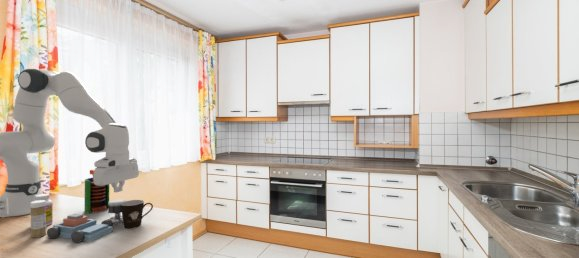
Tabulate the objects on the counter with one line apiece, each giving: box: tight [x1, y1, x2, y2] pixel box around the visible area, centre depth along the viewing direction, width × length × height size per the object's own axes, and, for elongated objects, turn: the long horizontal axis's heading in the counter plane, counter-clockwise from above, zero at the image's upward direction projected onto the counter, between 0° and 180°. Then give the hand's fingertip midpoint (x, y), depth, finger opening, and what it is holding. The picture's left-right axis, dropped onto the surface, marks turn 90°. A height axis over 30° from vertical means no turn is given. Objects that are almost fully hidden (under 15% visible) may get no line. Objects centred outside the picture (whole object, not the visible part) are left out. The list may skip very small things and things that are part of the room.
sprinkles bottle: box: [30, 200, 47, 239], centre depth 107 cm, size 5×5×14 cm
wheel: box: [107, 199, 127, 214], centre depth 123 cm, size 7×7×4 cm
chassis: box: [46, 215, 114, 244], centre depth 110 cm, size 20×14×4 cm
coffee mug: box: [121, 199, 154, 230], centre depth 119 cm, size 12×9×10 cm
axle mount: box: [109, 212, 123, 226], centre depth 123 cm, size 6×6×5 cm
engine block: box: [62, 213, 88, 227], centre depth 111 cm, size 6×5×5 cm
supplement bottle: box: [35, 193, 54, 227], centre depth 118 cm, size 7×7×13 cm
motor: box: [84, 169, 110, 214], centre depth 138 cm, size 10×9×20 cm
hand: (118, 191), depth 122 cm, fingers closed
